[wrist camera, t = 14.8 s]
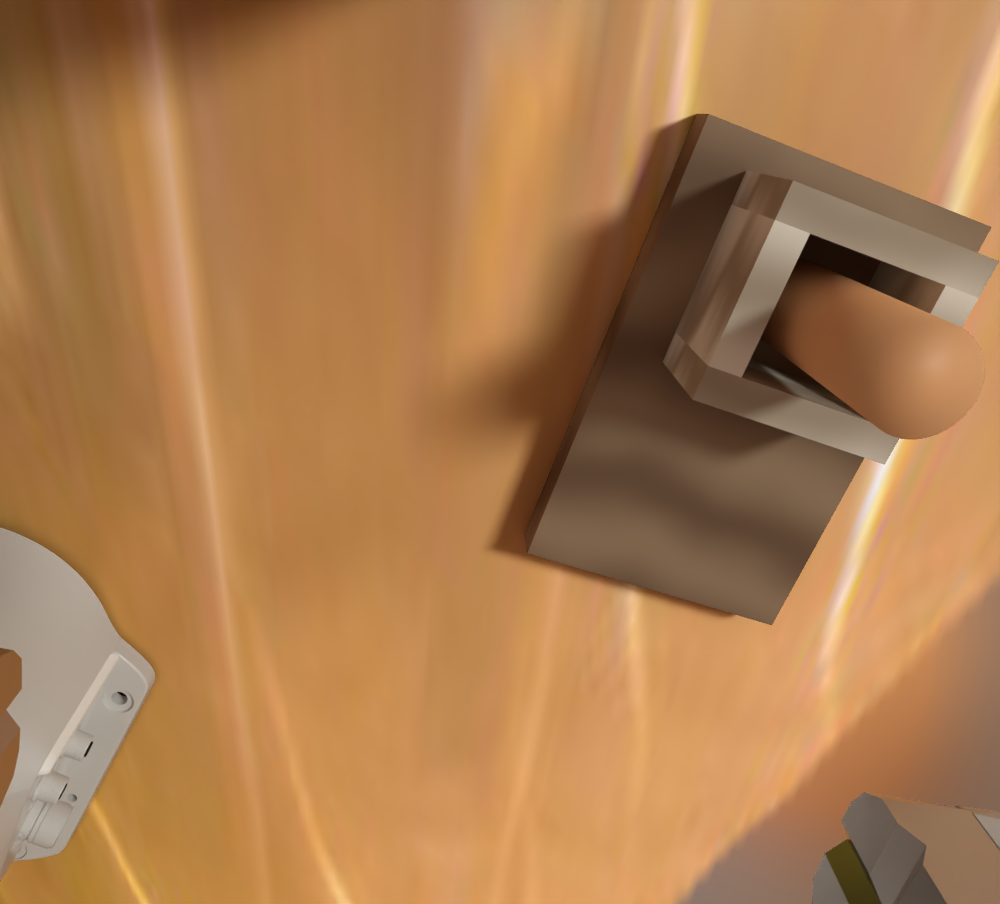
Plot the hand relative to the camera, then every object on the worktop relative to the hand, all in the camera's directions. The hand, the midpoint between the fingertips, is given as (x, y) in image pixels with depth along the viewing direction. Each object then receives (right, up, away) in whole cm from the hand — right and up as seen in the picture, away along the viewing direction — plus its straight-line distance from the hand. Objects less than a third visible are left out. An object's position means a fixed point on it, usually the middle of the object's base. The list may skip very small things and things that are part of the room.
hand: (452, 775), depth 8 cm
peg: (+14, +10, +30) cm, 35 cm away
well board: (+12, +6, +34) cm, 36 cm away
